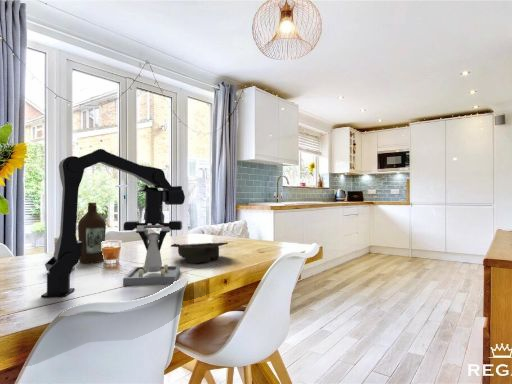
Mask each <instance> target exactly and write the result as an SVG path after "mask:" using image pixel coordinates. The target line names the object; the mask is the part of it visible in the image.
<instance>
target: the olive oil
mask: <svg viewBox="0 0 512 384" xmlns="http://www.w3.org/2000/svg"><path fill="white" fill-rule="evenodd" d="M106 224H107V223H106V220H105V219H104V217H103V216H101V215H100V213H99V212H98V211H97V202H88V203H87V211H86V213H85V214H84V215H83V216H82V217H81V218H80V219H79V221H78V223H77V233H78V234H77V235H78V240H79V241H81V242H83V245H82V250H81V253H82V256H80V259H79V262H78V263H80V264H85V265H86V264H89V265H90V264H97V263H101V262H104V261H103V255H102V251H101V242H102V241H105V242H106V229H107V227H106V226H107V225H106Z"/></svg>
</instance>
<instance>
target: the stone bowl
mask: <svg viewBox="0 0 512 384" xmlns="http://www.w3.org/2000/svg"><path fill="white" fill-rule="evenodd" d="M228 244H229V242H203V243H199V242H198V243H182V244H179V243H173V244H171V245H170V248H171V247H173V248H177V252H178V253H177V254H178V255H179V256H180V257H181V258H184V259H186V263H188V264H189V263H190V265H191V264H192V263H193V264H194V265H196V263H197V264H201V263H202V262H203V263H204V262H205V263H207V262H209V261H211V260H212V261H216V260H219V257H220V247H222V246H224V245H228Z"/></svg>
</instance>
